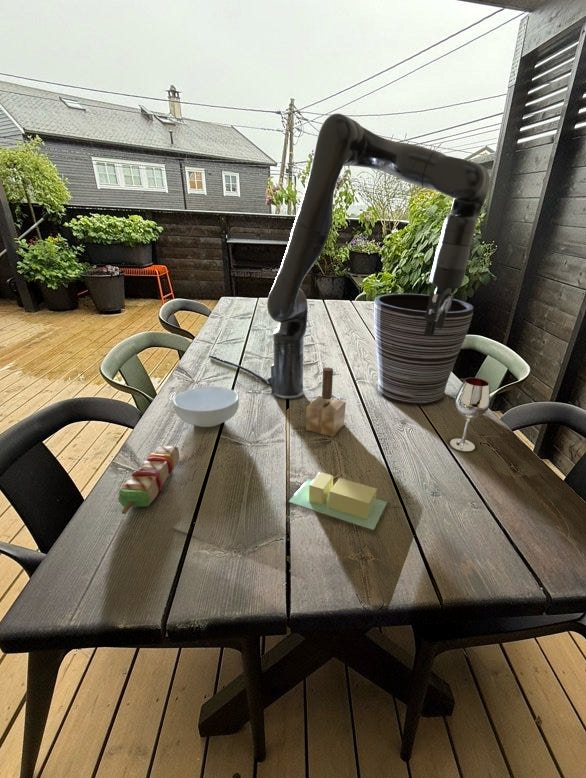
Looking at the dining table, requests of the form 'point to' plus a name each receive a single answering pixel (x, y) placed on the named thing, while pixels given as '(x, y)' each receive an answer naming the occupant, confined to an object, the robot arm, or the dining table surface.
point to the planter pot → (416, 347)
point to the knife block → (325, 416)
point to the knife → (327, 385)
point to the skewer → (148, 478)
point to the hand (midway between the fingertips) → (433, 331)
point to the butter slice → (320, 488)
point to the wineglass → (471, 407)
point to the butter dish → (324, 508)
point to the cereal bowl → (206, 405)
